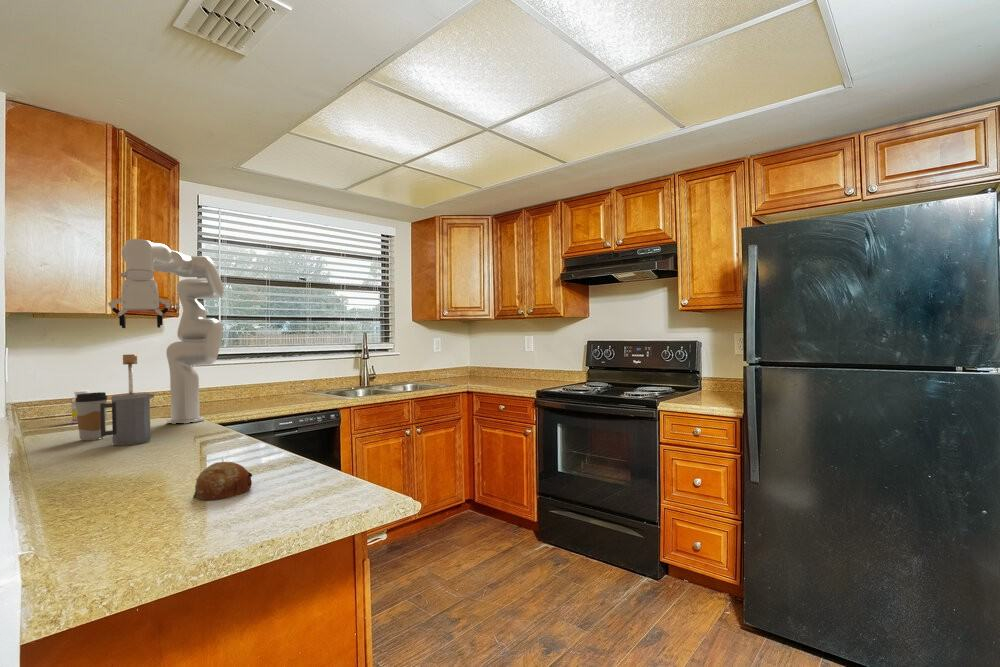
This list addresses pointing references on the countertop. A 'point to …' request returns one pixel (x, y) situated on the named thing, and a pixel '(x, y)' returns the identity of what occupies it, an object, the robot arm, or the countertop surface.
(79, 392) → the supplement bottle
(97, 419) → the coffee cup
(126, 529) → the countertop surface
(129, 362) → the plunger
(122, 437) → the french press
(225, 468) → the bread roll
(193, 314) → the robot arm
